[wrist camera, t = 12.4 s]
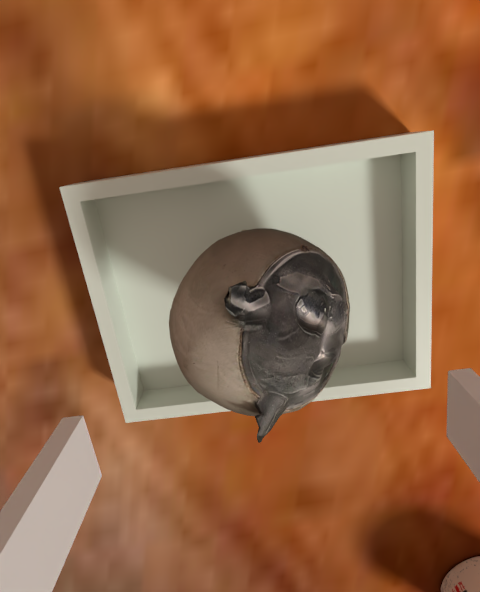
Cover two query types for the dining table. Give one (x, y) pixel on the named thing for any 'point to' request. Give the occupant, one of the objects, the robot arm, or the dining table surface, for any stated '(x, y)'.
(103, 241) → the serving tray
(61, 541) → the robot arm
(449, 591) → the teacup with lid
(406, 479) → the dining table surface
